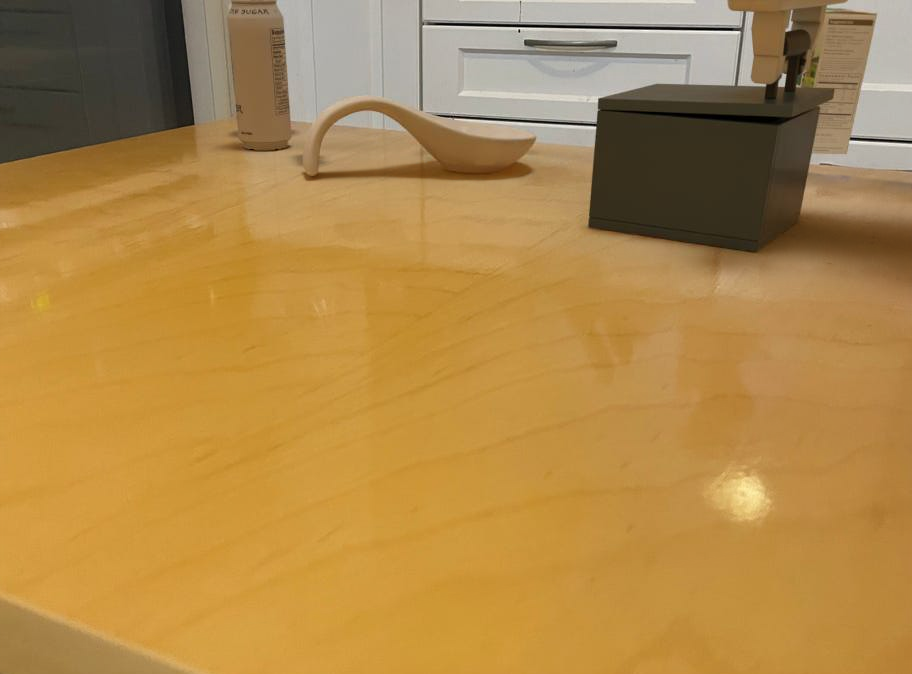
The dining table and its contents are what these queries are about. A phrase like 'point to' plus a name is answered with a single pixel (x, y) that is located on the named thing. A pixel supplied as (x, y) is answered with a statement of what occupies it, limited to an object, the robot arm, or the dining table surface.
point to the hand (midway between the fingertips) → (780, 78)
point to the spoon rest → (430, 136)
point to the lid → (730, 93)
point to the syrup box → (839, 74)
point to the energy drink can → (259, 74)
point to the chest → (700, 175)
